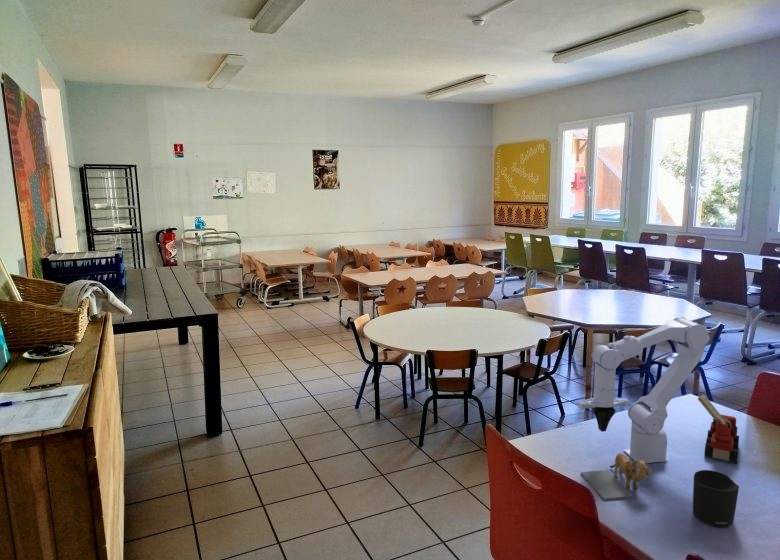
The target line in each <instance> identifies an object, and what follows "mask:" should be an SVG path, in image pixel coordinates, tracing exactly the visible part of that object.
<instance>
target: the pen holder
mask: <svg viewBox="0 0 780 560" xmlns="http://www.w3.org/2000/svg"><path fill="white" fill-rule="evenodd" d="M739 488H740V486H739V484H737V483H736V482H735V481H734V480H732V479H731V477H729V476H728V475H727V474H725V473H722V472H720V471H716V470H713V469H712V470H709V469H702V470H697V471H696V472H695V473H694V475H693V490H692V513H693V515H694V517H696V519H697V520H698V521H700V522H701V523H703V524H706V525H708V526H711V527H715V528H728V527H730V526H732V524H733V523H734V521H735V514H736V508H737V501H738V497H739V496H738V494H739Z"/></svg>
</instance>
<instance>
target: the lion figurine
mask: <svg viewBox="0 0 780 560" xmlns="http://www.w3.org/2000/svg"><path fill="white" fill-rule="evenodd" d="M609 468H611V469H614V473H613V476H614V477H615V478H616V479H618V478H619V476H618V472H619V473H623V475H625V488H626V489H627V490H628V491H631V481H632V487H633V488H634V489H638V488H639V485H637V482H640V481H643V480H645V479H646V477H649V476H650V474H651V473H652V469H651V468H649V467H648V466H647V465H646V463H645V462H643V461H640V460H639V461H634V460H629V459H628V457H627V454H624V453H621V452H620V453H618V454H616V456H615V459H614V464H612V465H609Z"/></svg>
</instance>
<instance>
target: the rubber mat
mask: <svg viewBox="0 0 780 560" xmlns="http://www.w3.org/2000/svg"><path fill="white" fill-rule="evenodd" d="M580 475H581V476H582V477H583V479H584V480H585V481H586V482H587V484H589V485H590V487H591V488H592V489H593V490H594V491H595V492H596V494H598V496H599V497H600V498H601V499H602V500H603V501H612V500H623V499H632V498H633V494H632V493H631V492H630V490H627V489H626V486H624V485H623V484H622V483H621V482H620V481H619V480H618V478H615V477H614V474H612V473H611V472H610V471H609V470H608V469H604V470H603V469H602V470H593V471H591V470H590V471H581V472H580Z"/></svg>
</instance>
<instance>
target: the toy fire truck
mask: <svg viewBox="0 0 780 560" xmlns="http://www.w3.org/2000/svg"><path fill="white" fill-rule="evenodd" d="M697 400H698V401H699V402H700V404H701V405H702V406H703V407H704V409H705V410H706V411H707V413H709V415H710V416H711V417H712V422H711V424H710V429H708V430H707V437H706V440H705V441H706V442H705V444H704V446H705V447H704V454H703V455H704V457H707V458H710V459H711V458H713V459H718V460H722V461H726V462H729V463H733V464H737V463H738V458H739V457H738V456H739V448H740V447H739V441H740V436H739V435H738V426H737V417H735V416H732V415H731V416H730V415H727V414H725V415H724V414H721V413H720V412H719V411H718V410H717V408H716V407H715V406H714V405H713V404H712V402H711V401H710V400H709V398H708V397H707V396H706V395H705V394H702V395H701V396H699V397H698V398H697Z"/></svg>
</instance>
